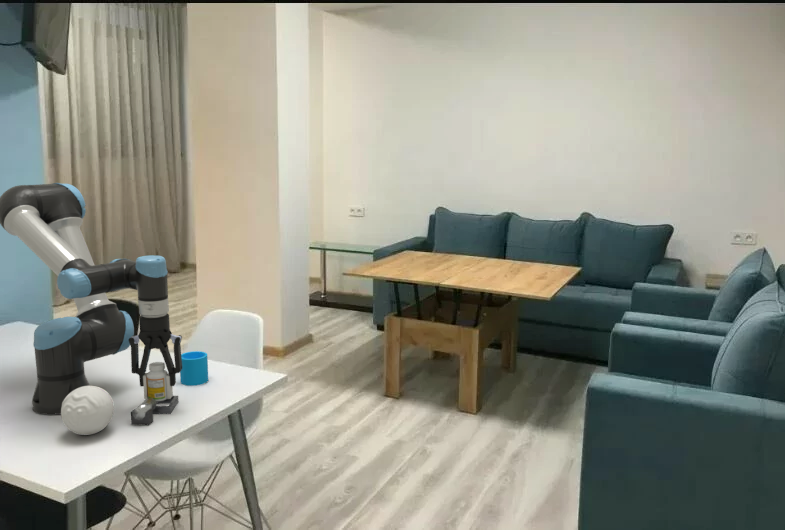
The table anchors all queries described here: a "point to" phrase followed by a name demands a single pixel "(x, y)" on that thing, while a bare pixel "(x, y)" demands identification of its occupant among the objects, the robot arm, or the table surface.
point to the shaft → (143, 413)
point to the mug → (194, 368)
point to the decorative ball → (87, 410)
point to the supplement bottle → (157, 381)
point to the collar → (166, 409)
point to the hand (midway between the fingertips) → (158, 397)
